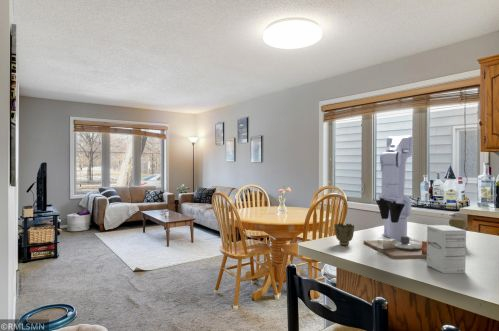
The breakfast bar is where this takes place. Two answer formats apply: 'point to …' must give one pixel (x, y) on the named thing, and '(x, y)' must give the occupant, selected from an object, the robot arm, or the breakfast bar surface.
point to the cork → (457, 223)
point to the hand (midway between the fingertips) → (389, 220)
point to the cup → (344, 233)
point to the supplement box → (446, 248)
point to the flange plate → (398, 244)
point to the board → (401, 253)
